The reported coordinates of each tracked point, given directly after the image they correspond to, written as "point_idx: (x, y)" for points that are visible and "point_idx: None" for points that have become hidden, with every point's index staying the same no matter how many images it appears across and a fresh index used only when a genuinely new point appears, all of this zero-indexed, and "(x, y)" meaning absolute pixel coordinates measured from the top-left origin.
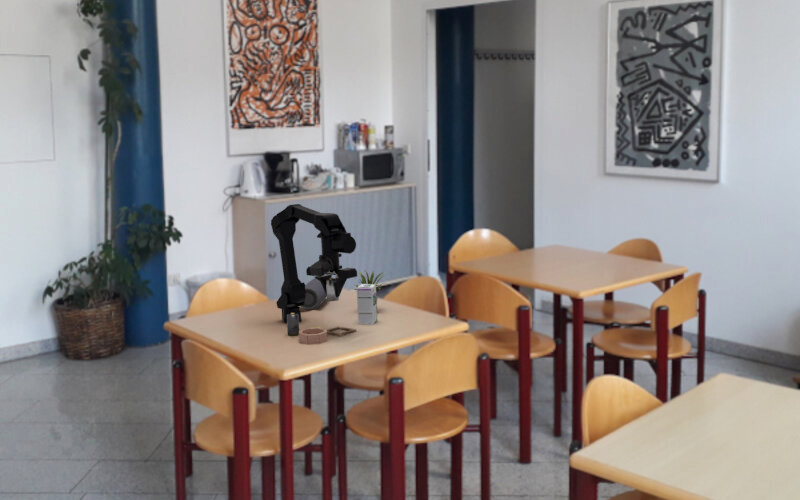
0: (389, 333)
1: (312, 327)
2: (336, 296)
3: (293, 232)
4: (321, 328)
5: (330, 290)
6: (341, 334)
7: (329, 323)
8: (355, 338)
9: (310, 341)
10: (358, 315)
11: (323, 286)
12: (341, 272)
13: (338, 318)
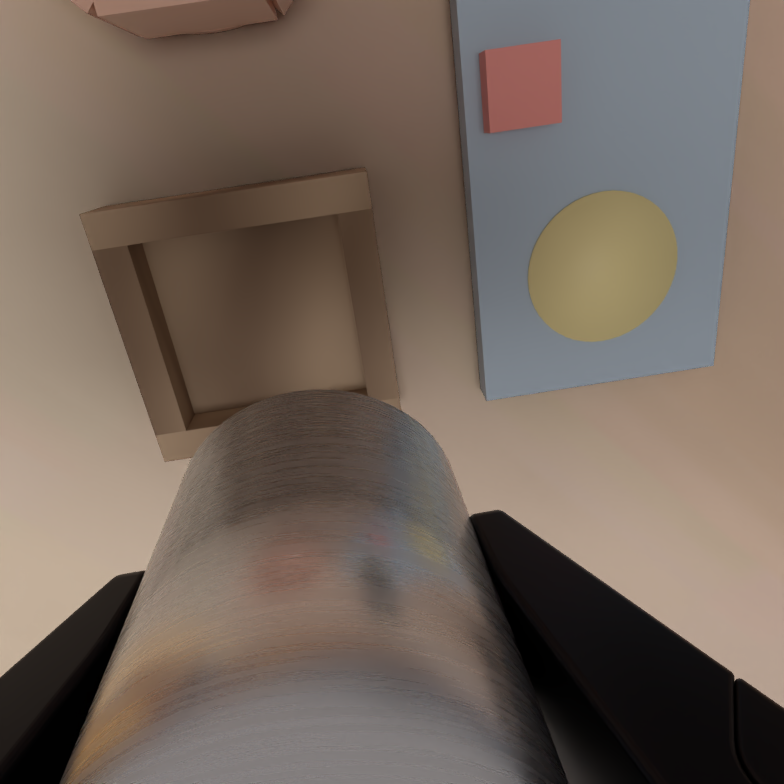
0: (24, 624)
1: (654, 261)
2: (111, 586)
3: None
4: (193, 2)
5: (165, 632)
6: (85, 231)
7: (675, 510)
8: (56, 346)
9: None
10: None
11: (719, 715)
12: None
13: (714, 633)
